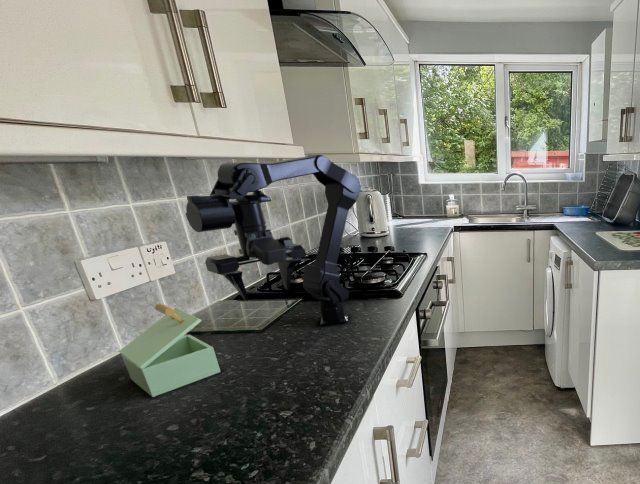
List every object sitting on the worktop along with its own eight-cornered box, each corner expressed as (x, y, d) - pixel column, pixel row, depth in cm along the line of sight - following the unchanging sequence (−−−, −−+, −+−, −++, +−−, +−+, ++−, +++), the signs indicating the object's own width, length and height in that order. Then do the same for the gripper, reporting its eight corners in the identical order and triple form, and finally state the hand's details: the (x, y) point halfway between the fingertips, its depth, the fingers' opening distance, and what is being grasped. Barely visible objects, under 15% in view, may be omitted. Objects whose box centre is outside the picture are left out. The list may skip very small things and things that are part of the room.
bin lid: (178, 309, 85) (159, 294, 82) (201, 321, 79) (182, 305, 76) (121, 353, 79) (99, 338, 76) (142, 369, 73) (119, 354, 70)
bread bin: (197, 357, 90) (189, 334, 88) (220, 372, 84) (213, 347, 82) (131, 379, 81) (121, 354, 79) (152, 397, 75) (141, 370, 73)
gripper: (219, 235, 76) (241, 313, 82) (313, 222, 90) (325, 289, 96) (194, 230, 82) (215, 303, 88) (286, 218, 96) (299, 282, 102)
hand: (267, 294), depth 93 cm, fingers open, 9 cm apart
